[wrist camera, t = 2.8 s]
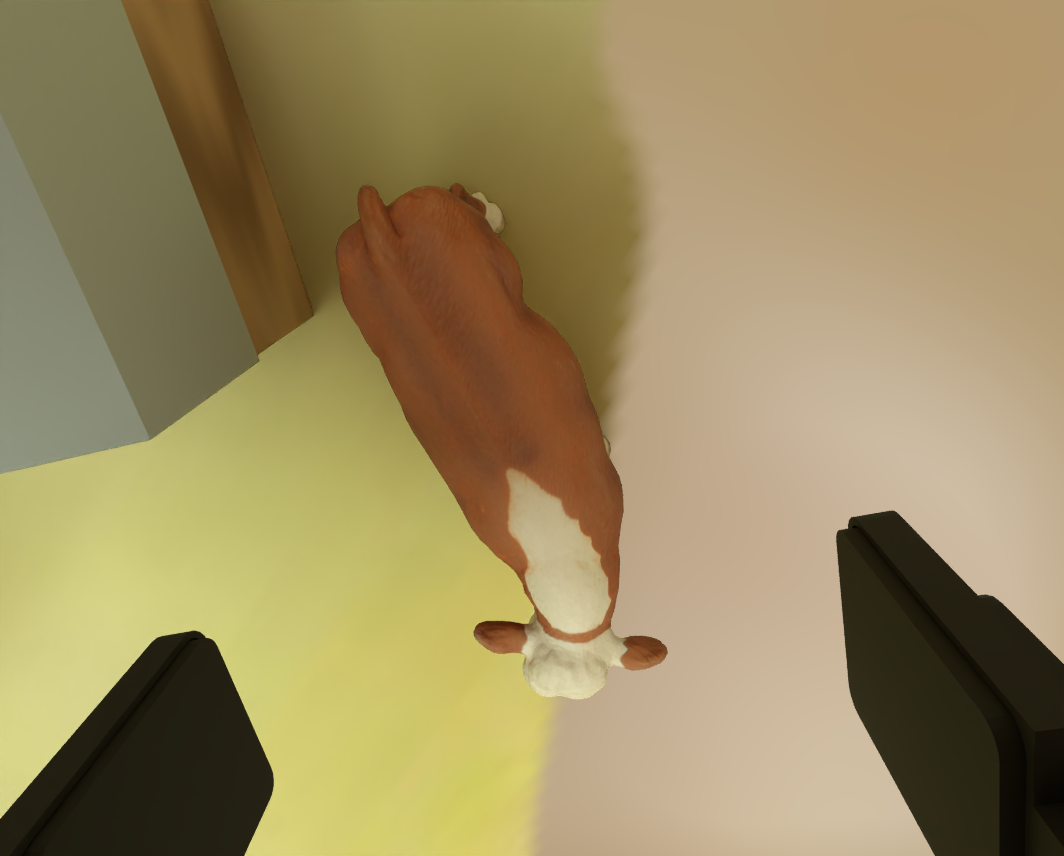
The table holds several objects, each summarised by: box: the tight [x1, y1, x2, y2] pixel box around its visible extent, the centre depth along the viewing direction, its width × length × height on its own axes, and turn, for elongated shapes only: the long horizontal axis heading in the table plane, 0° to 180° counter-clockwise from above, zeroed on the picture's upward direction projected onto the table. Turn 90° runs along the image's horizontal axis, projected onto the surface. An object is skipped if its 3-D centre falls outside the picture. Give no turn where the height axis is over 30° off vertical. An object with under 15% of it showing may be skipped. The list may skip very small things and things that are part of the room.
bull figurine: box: [336, 183, 668, 700], centre depth 18 cm, size 4×13×8 cm, turn 20°
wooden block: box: [121, 0, 314, 355], centre depth 18 cm, size 9×9×5 cm
